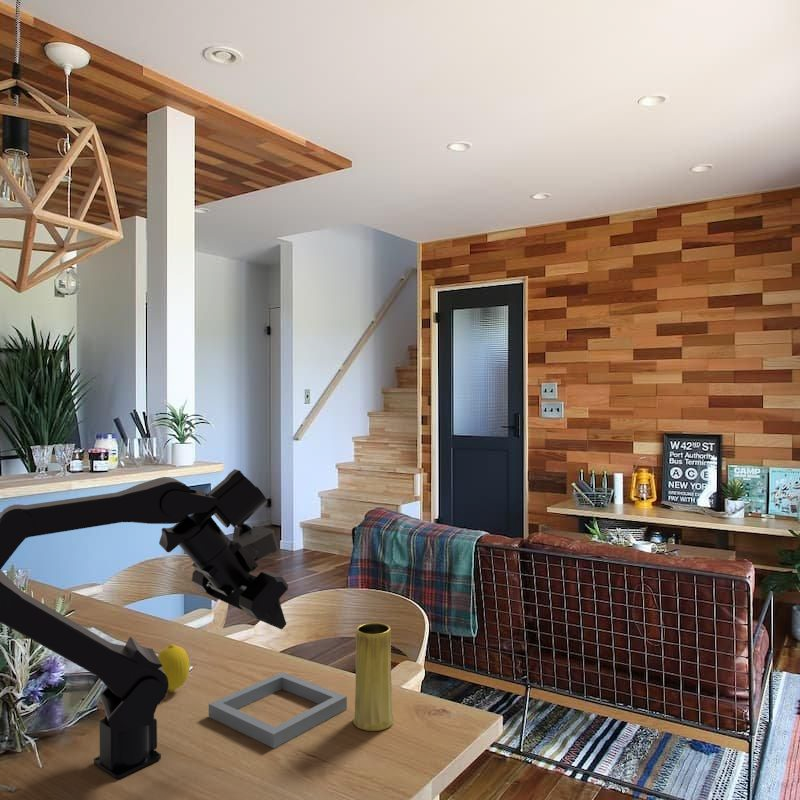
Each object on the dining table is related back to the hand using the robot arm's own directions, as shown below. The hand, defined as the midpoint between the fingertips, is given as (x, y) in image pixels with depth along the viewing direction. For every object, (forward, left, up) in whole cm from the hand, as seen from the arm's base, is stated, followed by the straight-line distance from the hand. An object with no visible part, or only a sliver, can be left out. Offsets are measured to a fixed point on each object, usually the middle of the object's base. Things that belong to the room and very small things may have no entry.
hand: (266, 618), depth 105 cm
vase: (+9, -14, -15) cm, 23 cm away
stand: (+2, -1, -15) cm, 15 cm away
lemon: (-4, +19, -15) cm, 25 cm away
